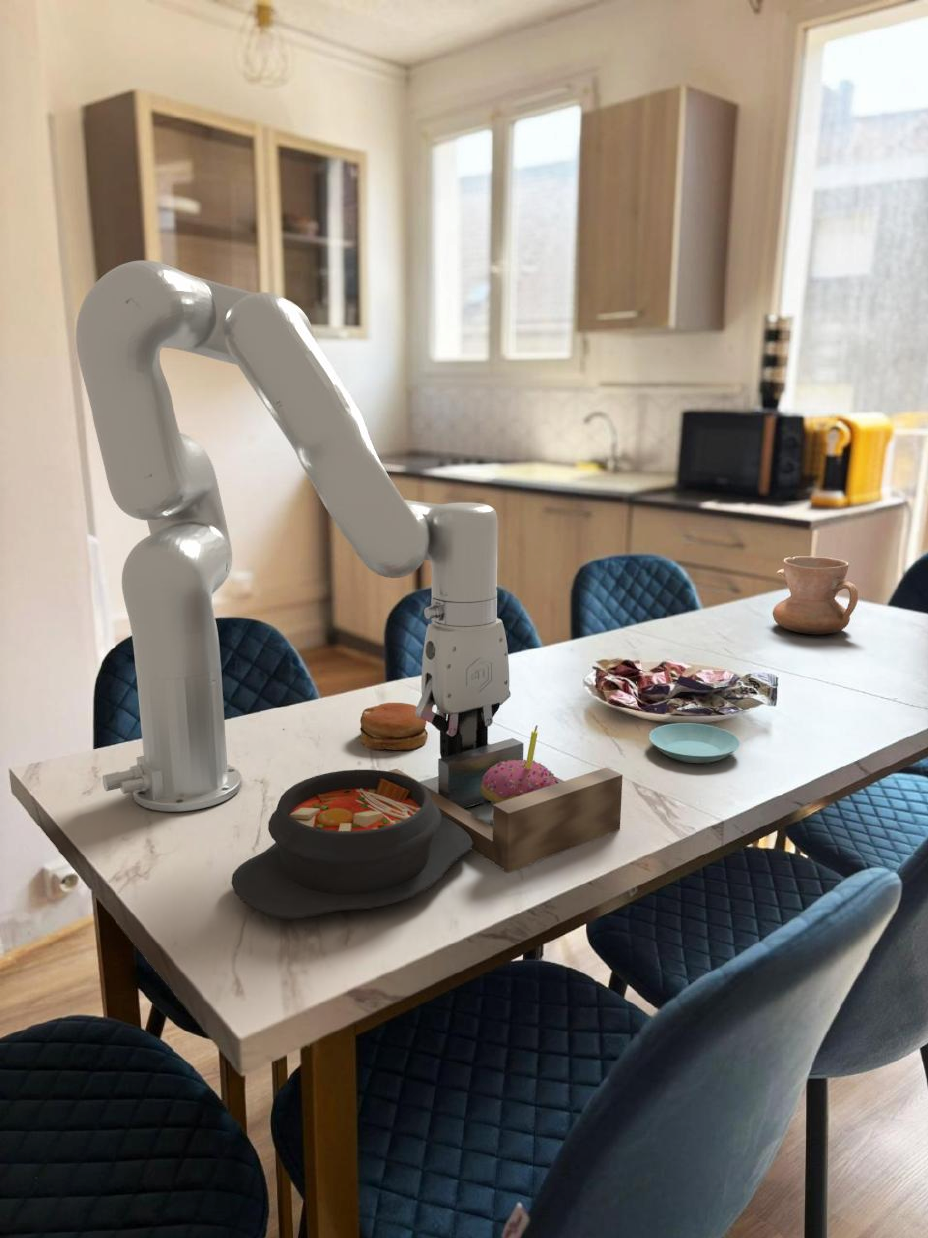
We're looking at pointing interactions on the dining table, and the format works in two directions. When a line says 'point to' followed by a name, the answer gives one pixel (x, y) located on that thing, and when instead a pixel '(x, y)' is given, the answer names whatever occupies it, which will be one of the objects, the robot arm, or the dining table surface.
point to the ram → (470, 764)
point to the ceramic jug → (815, 595)
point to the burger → (392, 727)
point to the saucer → (694, 742)
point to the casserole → (350, 846)
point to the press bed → (542, 819)
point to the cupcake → (516, 777)
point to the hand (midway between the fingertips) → (464, 757)
